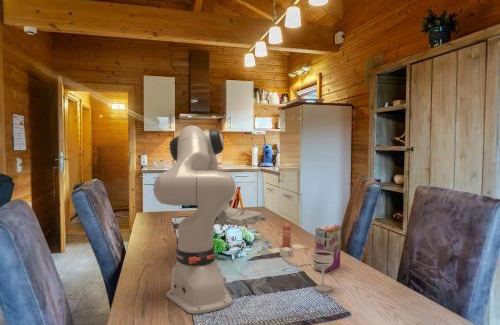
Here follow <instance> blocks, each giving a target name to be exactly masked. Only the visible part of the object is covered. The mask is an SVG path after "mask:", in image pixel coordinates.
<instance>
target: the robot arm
mask: <svg viewBox="0 0 500 325" xmlns="http://www.w3.org/2000/svg"><path fill="white" fill-rule="evenodd" d="M179 132H180V133H179V135H177V136H175V137H174V138H171V140H170V142H169V153H170V155H171V157H172V158H173V160H174V161H175V163H174V164H173V166H171V167H170V168H169V169H168V170H166V171H164V172H162V173H159V174H158V176H157V177H156V178H155V181H154V184H153V195H154V196H155V199H156V200H157V201H158V202H159V203H160V204H162V205H163V204H164V205H169V206H174V207H176V206H177V207H178V206H181V207H182V206H196V211H195V212H193V213H192V214H190V215H188V216H186V217H185V218H183V219H182V220H181V221H180V222H179V224H178V227H177V248H176V251H175V252H176V253H175V255H176V263H175V264H174V266H173V268H172V269H171V284H170V286H171V287H170V290H168V291H167V292H166V297H167V298H168V299H169V300H170V301H172V302H173V303H174V304H175V305H177V306H178V307H180V309H182V310H184V311H185V312H187V314H196V315H197V314H203V313H205V314H206V313H210V312H213V311H215V312H216V311H217V310H222V309H224V308H227V307H228V306H231V305H232V304H233V298H232V296H231V295H230V293H229V292H228V289H227V288H226V286H225V283H226V282H227V275H226V274H221V271H222V268H221V267H219V266H218V264H217V262H216V261H217V260H216V252H215V247H214V245H213V244H214V226H215V224H216V225H221V226H228V224H230V225H237V226H241V227H244V226H247V225H256V223H257V222H260V221H262V222H266V221H267V217H266V216H263V213H261V212H260V211H259V212H258V211H256V210H254V211H253V210H249V209H247V208H235V207H231V203H230V202H231V200H232V199H233V198H234V195H235V194H236V189H237V188H236V182H235V179H234V177H233V176H232V174H230V173H229V172H224V171H220V170H219V171H218V169H219V168H218V167H219V166H218V165H219V162H218V159H217V156H216V155H218V154H221V153H222V152H223V151H224V146H225V140H224V136H223V135H222V133H221V132H220V131H219V130H218V129H215V128H212V129H208V130H202V128H200V127H199V126H197V125H191V124H190V125H187V126H185V127H183V128H182V129H181V131H179ZM224 224H226V225H224Z"/></svg>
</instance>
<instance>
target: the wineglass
mask: <svg viewBox="0 0 500 325" xmlns="http://www.w3.org/2000/svg"><path fill="white" fill-rule="evenodd" d="M333 254H334V253H333V252H332V251H329V250H315V249H314V250H313V257H312V260H313V263H314V265H315V264H316V265H317V266H318V267H320V268H321V269H322V272H321V276H322V277H321V278H322V279H321V280H322V281H321V282H322V284H318V285H316V286H315V290H317V291H319V292H329V291H330V290H331V287H330V286H328V285H325V284H324V280H325V273H324V270H325V269H326V268H329V267H330V266H331V265H332V264H333V261H334V257H333Z"/></svg>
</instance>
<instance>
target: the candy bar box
mask: <svg viewBox="0 0 500 325" xmlns="http://www.w3.org/2000/svg"><path fill="white" fill-rule="evenodd" d="M314 238H315V239H314V240H315V242H314V244H315V245H314V248H315V249H314V251H315V250H329V251H332V252H333V253H334V254H333V257H334V261H333V264H332V265H331V266H330V267H329V268H326V269H325V270H324V274H326V273H328V272H330V271H332V270H334V269H337V268H339V267H341V246H342V245H341V243H342V225H339V224H338V225H337V224H334V223H330V224H329V223H328V224H326V225H323V226H319V227H315V237H314ZM313 270H315V271H317V272H319V273H322V269H321V268H320V267H318V266H317V265H316V264H315V263H314V269H313Z"/></svg>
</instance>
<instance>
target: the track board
mask: <svg viewBox="0 0 500 325" xmlns="http://www.w3.org/2000/svg"><path fill="white" fill-rule="evenodd" d="M290 245H291V246H292V249H293V251H294V250H300V249H304V248H305V249H306V250H309V248H307V247H306V246H304V245H301V244H299V243H295V244H290ZM280 249H281V246H278V247H273V248H266V249H261V251H260V250H259V251H260V252H259V253H258V254H257V255H255V256H253V257H258V256H259V257H260V256H265V255H270V254H276V253H280ZM253 257H252V258H253Z"/></svg>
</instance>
